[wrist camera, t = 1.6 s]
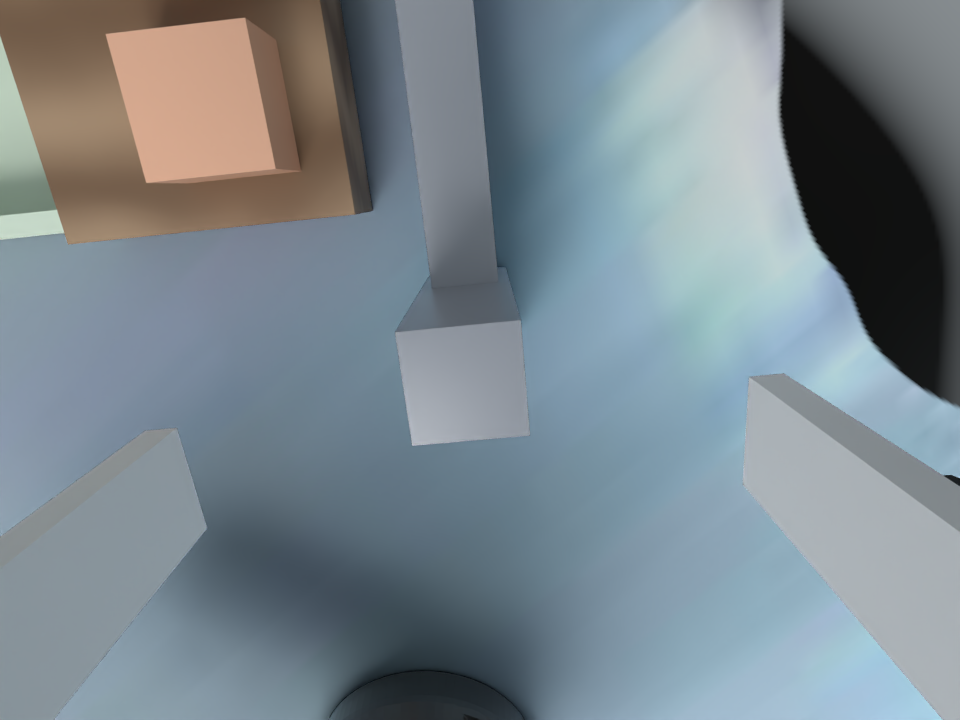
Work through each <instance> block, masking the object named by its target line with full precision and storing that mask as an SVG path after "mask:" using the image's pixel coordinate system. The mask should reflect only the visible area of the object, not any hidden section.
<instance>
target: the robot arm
mask: <svg viewBox="0 0 960 720" xmlns="http://www.w3.org/2000/svg"><path fill="white" fill-rule="evenodd" d="M743 486H744V487H745V488H746V489H747V490H748V491H749V493H750V494H751V495H752V496H753V497H754V498H755V500H756V501H757V502H758V503H759V504H760V506H761V507H762V508H763V509H764V510H765V511H766V513H767V514H768V515H769V516H770V517H771V518H772V520H773V521H774V522H775V523H776V524H777V526H778V527H779V528H780V529H781V530H782V531H783V533H784V534H785V535H786V536H787V537H788V538H789V540H790V541H791V542H792V543H793V544H794V545H795V547H796V548H797V549H798V550H799V551H800V553H801V554H802V555H803V556H804V557H805V558H806V560H807V561H808V562H809V563H810V564H811V565H812V567H813V568H814V569H815V570H816V571H817V573H818V574H819V575H820V576H821V577H822V578H823V580H824V581H825V582H826V583H827V584H828V585H829V587H830V588H831V589H832V590H833V591H834V593H835V594H836V595H837V596H838V597H839V598H840V600H841V601H842V602H843V603H844V604H845V605H846V607H847V608H848V609H849V610H850V611H851V612H852V614H853V615H854V616H855V617H856V618H857V620H858V621H859V622H860V623H861V624H862V625H863V627H864V628H865V629H866V630H867V631H868V632H869V634H870V635H871V636H872V637H873V638H874V640H875V641H876V642H877V643H878V644H879V645H880V647H881V648H882V649H883V650H884V651H885V652H886V654H887V655H888V656H889V657H890V658H891V659H892V661H893V662H894V663H895V664H896V665H897V667H898V668H899V669H900V670H901V671H902V672H903V674H904V675H905V676H906V677H907V678H908V679H909V681H910V682H911V683H912V684H913V685H914V687H915V688H916V689H917V690H918V691H919V692H920V694H921V695H922V696H923V697H924V698H925V699H926V701H927V702H928V703H929V704H930V705H931V706H932V708H933V709H934V710H935V711H936V712H937V714H938V715H939V716H940V717H941V718H942V719H943V720H960V478H957V477H955V476H952V475H944V476H943V475H941V474H940V473H938V472H937V471H935V470H934V469H932V468H930V467H929V466H927V465H926V464H924V463H923V462H921V461H920V460H918V459H916V458H915V457H913V456H912V455H910V454H909V453H907V452H905V451H904V450H902V449H901V448H899V447H898V446H896V445H895V444H893V443H891V442H890V441H888V440H887V439H885V438H884V437H882V436H881V435H879V434H877V433H876V432H874V431H873V430H871V429H870V428H868V427H866V426H865V425H863V424H862V423H860V422H859V421H857V420H856V419H854V418H852V417H851V416H849V415H848V414H846V413H845V412H843V411H842V410H840V409H838V408H837V407H835V406H834V405H832V404H831V403H829V402H828V401H826V400H824V399H823V398H821V397H820V396H818V395H817V394H815V393H813V392H812V391H810V390H809V389H807V388H806V387H804V386H803V385H801V384H799V383H798V382H796V381H795V380H793V379H792V378H790V377H789V376H787V375H785V374H773V375H762V376H750V377H749V385H748V402H747V419H746V436H745V453H744V470H743ZM206 529H207V526H206V522H205V519H204V516H203V512H202V509H201V506H200V503H199V499H198V496H197V493H196V489H195V486H194V483H193V479H192V476H191V473H190V469H189V466H188V463H187V460H186V456H185V453H184V450H183V446H182V443H181V440H180V436H179V433H178V430H177V428H170V429H158V430H147V431H144V432H143V433H141V434H140V435H138V436H137V437H136V438H134V439H133V440H132V441H130V442H129V443H128V444H126V445H125V446H123V447H122V448H121V449H119V450H118V451H117V452H115V453H114V454H112V455H111V456H110V457H108V458H107V459H106V460H104V461H103V462H102V463H100V464H99V465H97V466H96V467H95V468H93V469H92V470H91V471H89V472H88V473H87V474H85V475H84V476H82V477H81V478H80V479H78V480H77V481H76V482H74V483H73V484H71V485H70V486H69V487H67V488H66V489H65V490H63V491H62V492H61V493H59V494H58V495H56V496H55V497H54V498H52V499H51V500H50V501H48V502H47V503H46V504H44V505H43V506H41V507H40V508H39V509H37V510H36V511H35V512H33V513H32V514H30V515H29V516H28V517H26V518H25V519H24V520H22V521H21V522H20V523H18V524H17V525H15V526H14V527H13V528H11V529H10V530H9V531H7V532H6V533H5V534H3V535H2V536H0V720H54V719H55V718H56V716H57V715H58V714H59V713H60V711H61V710H62V709H63V708H64V706H65V705H66V704H67V703H68V701H69V700H70V699H71V698H72V696H73V695H74V694H75V693H76V691H77V690H78V689H79V688H80V686H81V685H82V684H83V683H84V682H85V680H86V679H87V678H88V677H89V675H90V674H91V673H92V672H93V670H94V669H95V668H96V667H97V665H98V664H99V663H100V662H101V660H102V659H103V658H104V657H105V655H106V654H107V653H108V652H109V650H110V649H111V648H112V647H113V645H114V644H115V643H116V642H117V640H118V639H119V638H120V637H121V635H122V634H123V633H124V632H125V630H126V629H127V628H128V627H129V625H130V624H131V623H132V622H133V620H134V619H135V618H136V617H137V615H138V614H139V613H140V612H141V610H142V609H143V608H144V607H145V605H146V604H147V603H148V602H149V600H150V599H151V598H152V597H153V595H154V594H155V593H156V592H157V590H158V589H159V588H160V587H161V585H162V584H163V583H164V582H165V580H166V579H167V578H168V577H169V575H170V574H171V573H172V572H173V570H174V569H175V568H176V567H177V566H178V564H179V563H180V562H181V561H182V559H183V558H184V557H185V556H186V554H187V553H188V552H189V551H190V549H191V548H192V547H193V546H194V544H195V543H196V542H197V541H198V539H199V538H200V537H201V536H202V534H203V533H204V532H205V531H206ZM329 720H524V718H523V717H522V715H521V714H520V712H519V711H518V710H517V709H516V708H515V707H514V706H513V705H512V704H511V703H510V702H509V701H508V700H507V699H506V698H505V697H503V696H502V695H501V694H499V693H498V692H496V691H495V690H493V689H492V688H490V687H488V686H486V685H484V684H482V683H480V682H477V681H475V680H472V679H469V678H466V677H463V676H459V675H455V674H450V673H443V672H433V671H415V672H405V673H399V674H394V675H390V676H386V677H383V678H380V679H377V680H375V681H372V682H370V683H368V684H366V685H364V686H362V687H360V688H359V689H357V690H356V691H354V692H353V693H351V694H350V695H349V696H348V697H346V698H345V699H344V700H343V701H342V702H341V703H340V704H339V705H338V707H337V708H336V709H335V710H334V712H333V713H332V715H331V717H330V718H329Z"/></svg>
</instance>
